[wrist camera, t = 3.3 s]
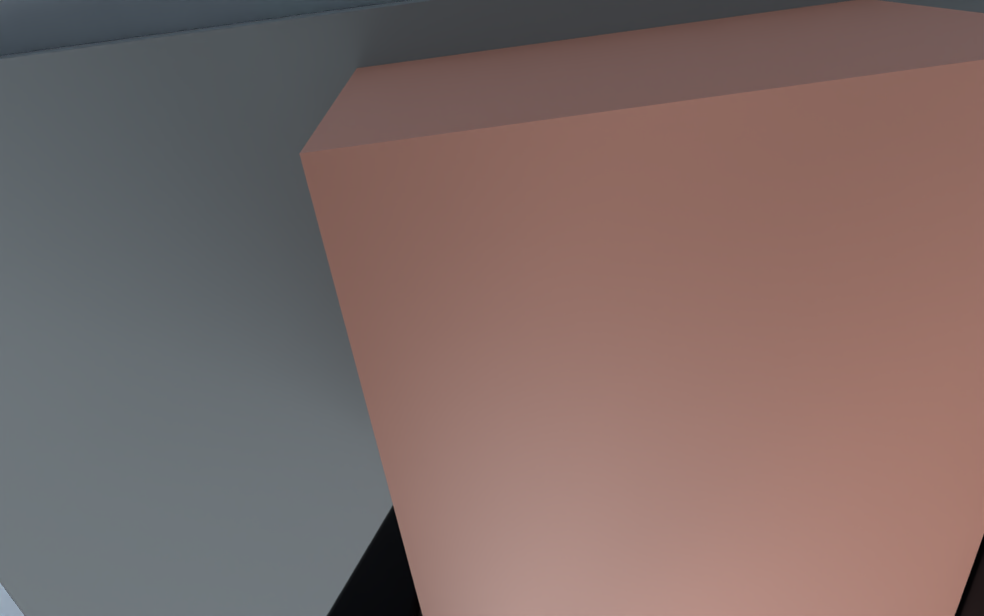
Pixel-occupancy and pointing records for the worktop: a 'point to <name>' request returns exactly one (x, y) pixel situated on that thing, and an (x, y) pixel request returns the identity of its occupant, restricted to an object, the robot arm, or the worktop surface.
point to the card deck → (674, 313)
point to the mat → (206, 305)
